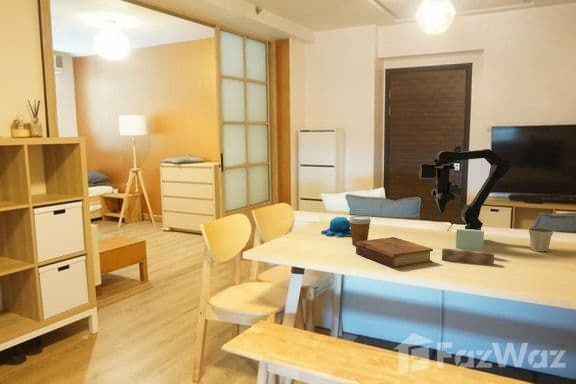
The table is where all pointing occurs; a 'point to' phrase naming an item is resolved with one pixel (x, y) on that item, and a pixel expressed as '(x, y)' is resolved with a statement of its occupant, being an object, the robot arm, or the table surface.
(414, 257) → the diary
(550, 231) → the flower pot
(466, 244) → the bookend
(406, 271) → the table surface
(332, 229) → the plush toy
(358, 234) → the disposable coffee cup
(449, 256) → the board
